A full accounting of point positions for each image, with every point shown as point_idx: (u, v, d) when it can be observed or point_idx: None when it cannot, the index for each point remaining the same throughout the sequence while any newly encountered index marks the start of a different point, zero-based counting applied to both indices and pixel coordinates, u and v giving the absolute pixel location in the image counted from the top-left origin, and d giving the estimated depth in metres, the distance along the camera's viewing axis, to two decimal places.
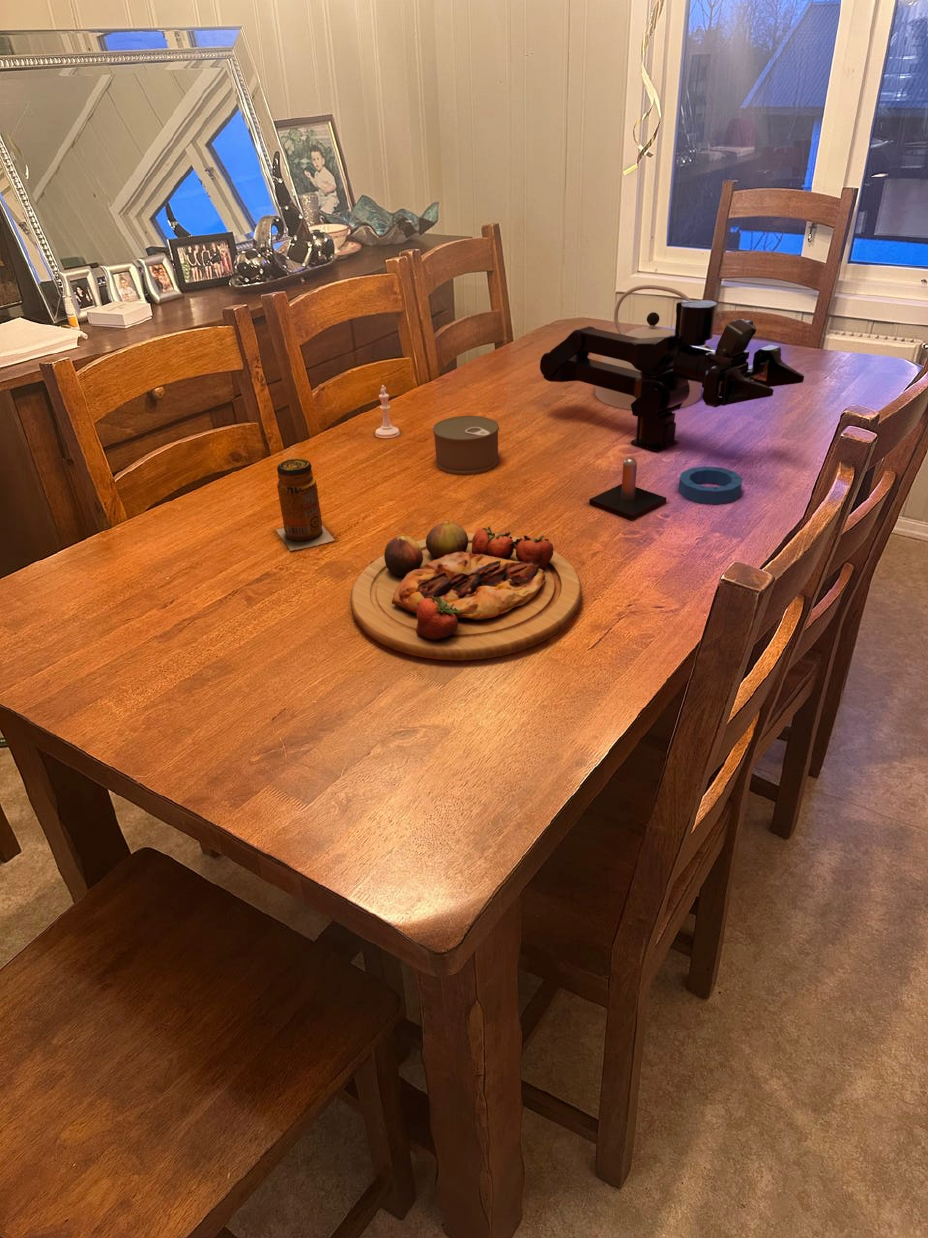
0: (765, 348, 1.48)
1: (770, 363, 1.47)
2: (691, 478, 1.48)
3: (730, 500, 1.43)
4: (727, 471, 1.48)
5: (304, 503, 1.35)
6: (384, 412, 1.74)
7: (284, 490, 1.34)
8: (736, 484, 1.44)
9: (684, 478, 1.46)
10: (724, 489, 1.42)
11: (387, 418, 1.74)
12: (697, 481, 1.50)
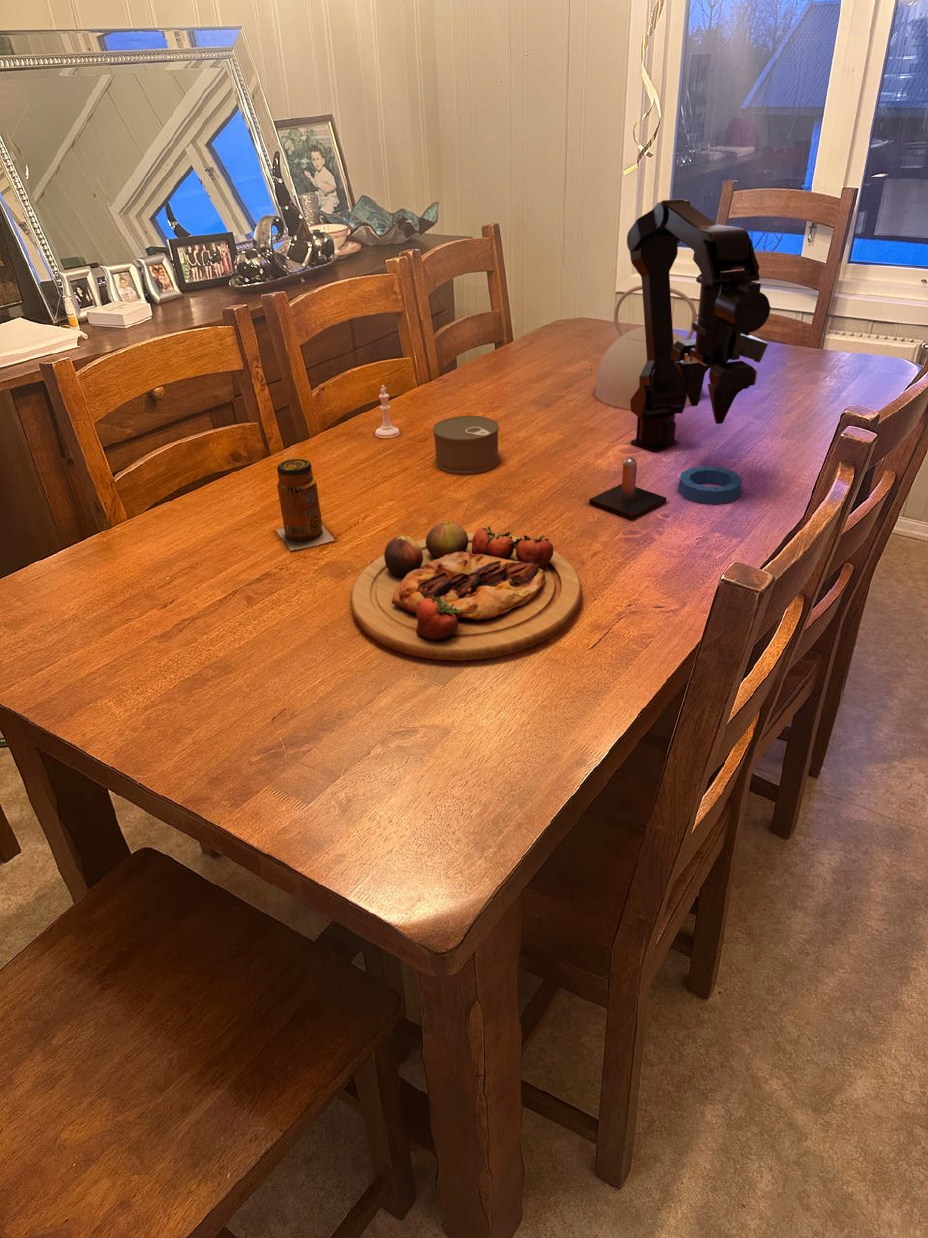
0: None
1: (703, 365, 1.45)
2: (691, 478, 1.48)
3: (730, 500, 1.43)
4: (727, 471, 1.48)
5: (304, 503, 1.35)
6: (384, 412, 1.74)
7: (284, 490, 1.34)
8: (736, 484, 1.44)
9: (684, 478, 1.46)
10: (724, 489, 1.42)
11: (387, 418, 1.74)
12: (697, 481, 1.50)
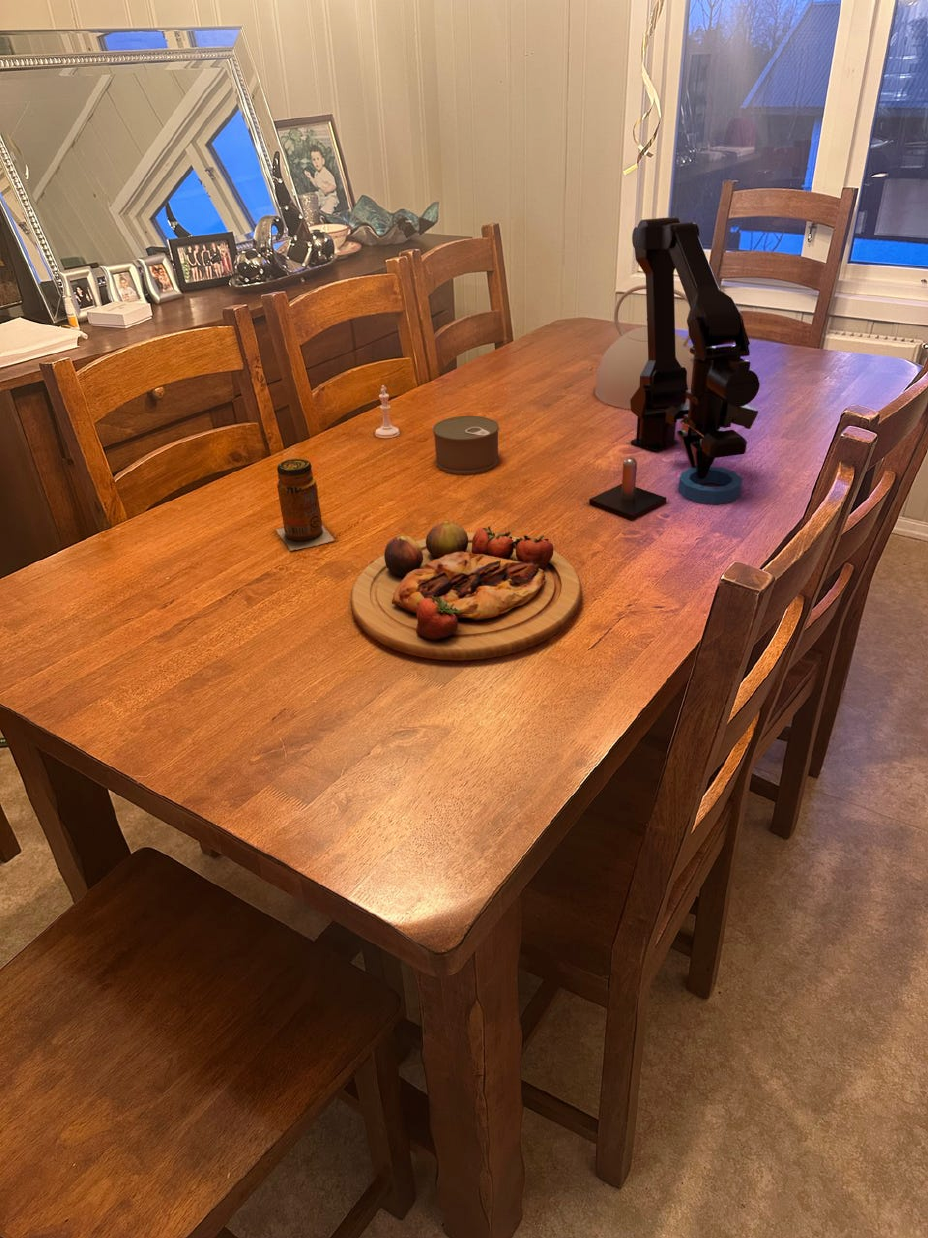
0: None
1: None
2: (691, 478, 1.48)
3: (730, 500, 1.43)
4: (726, 471, 1.48)
5: (304, 503, 1.35)
6: (384, 412, 1.74)
7: (284, 490, 1.34)
8: (736, 484, 1.44)
9: (684, 478, 1.46)
10: (724, 489, 1.42)
11: (387, 418, 1.74)
12: (697, 481, 1.50)
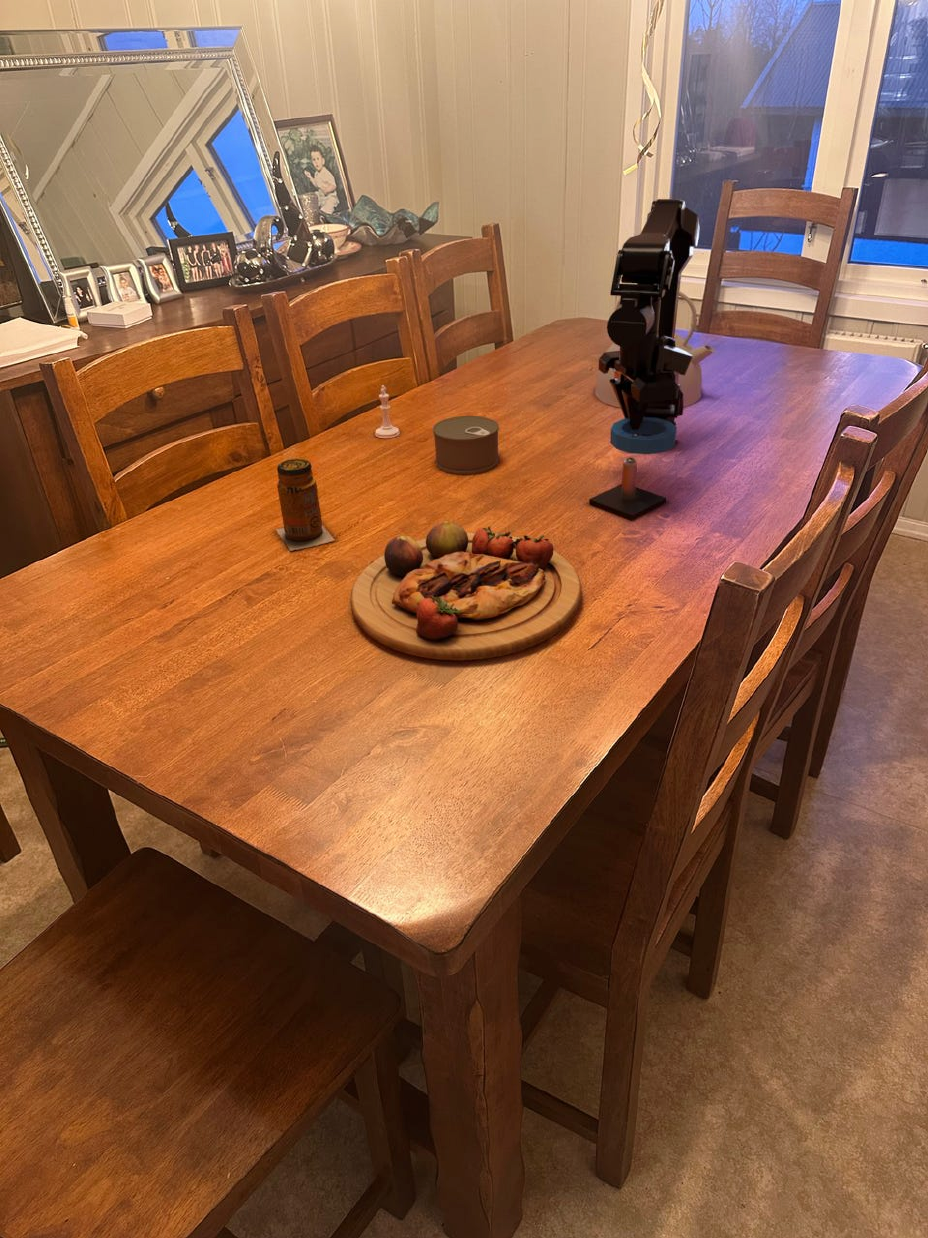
0: None
1: None
2: (624, 428, 1.40)
3: (663, 450, 1.35)
4: (661, 421, 1.40)
5: (304, 503, 1.35)
6: (384, 412, 1.74)
7: (284, 490, 1.34)
8: (670, 433, 1.36)
9: (616, 428, 1.38)
10: (656, 438, 1.34)
11: (387, 418, 1.74)
12: (631, 432, 1.42)
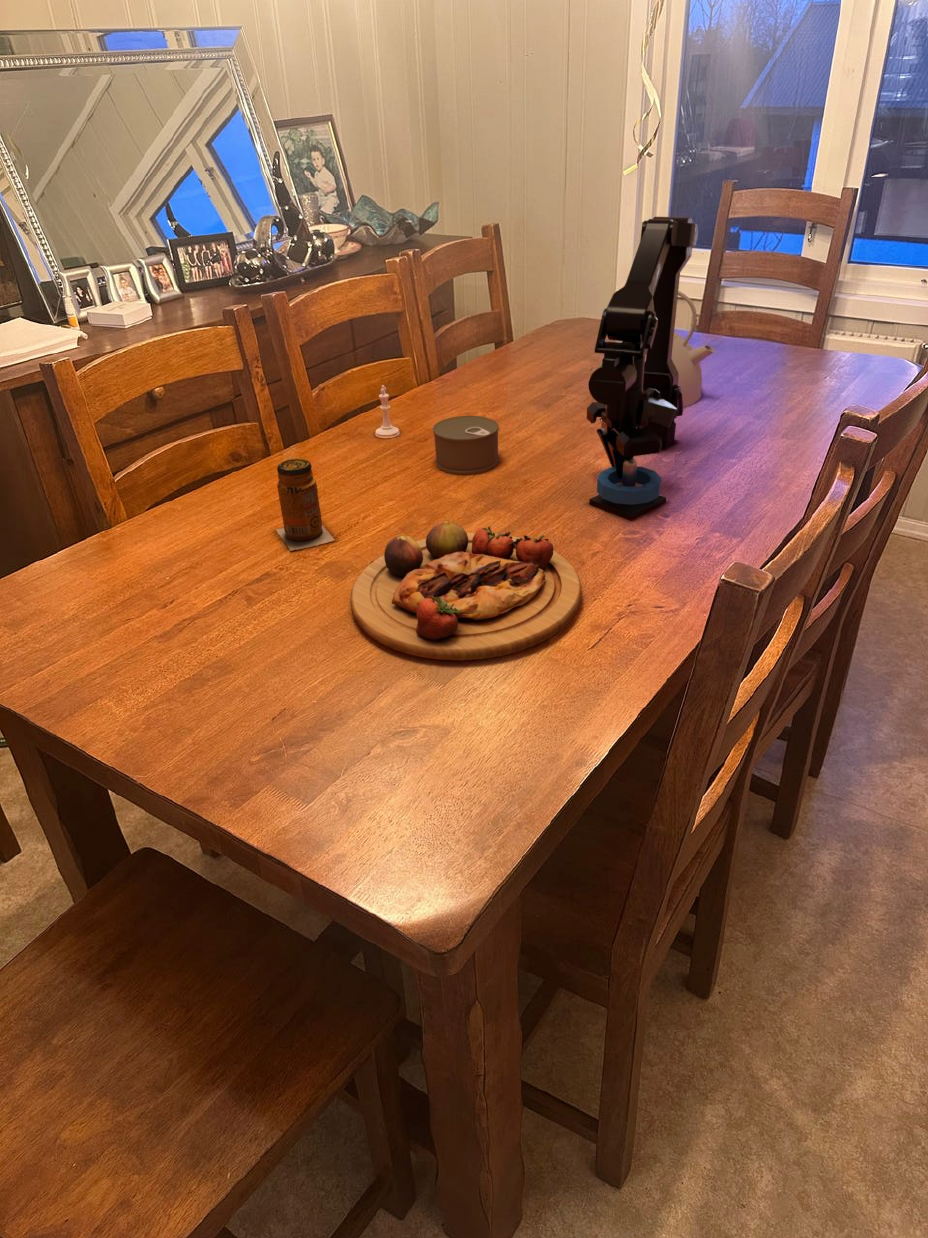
0: None
1: None
2: (610, 477, 1.45)
3: (647, 500, 1.39)
4: (647, 471, 1.44)
5: (304, 503, 1.35)
6: (384, 412, 1.74)
7: (284, 490, 1.34)
8: (654, 483, 1.40)
9: (602, 478, 1.42)
10: (640, 489, 1.38)
11: (387, 418, 1.74)
12: (617, 481, 1.46)
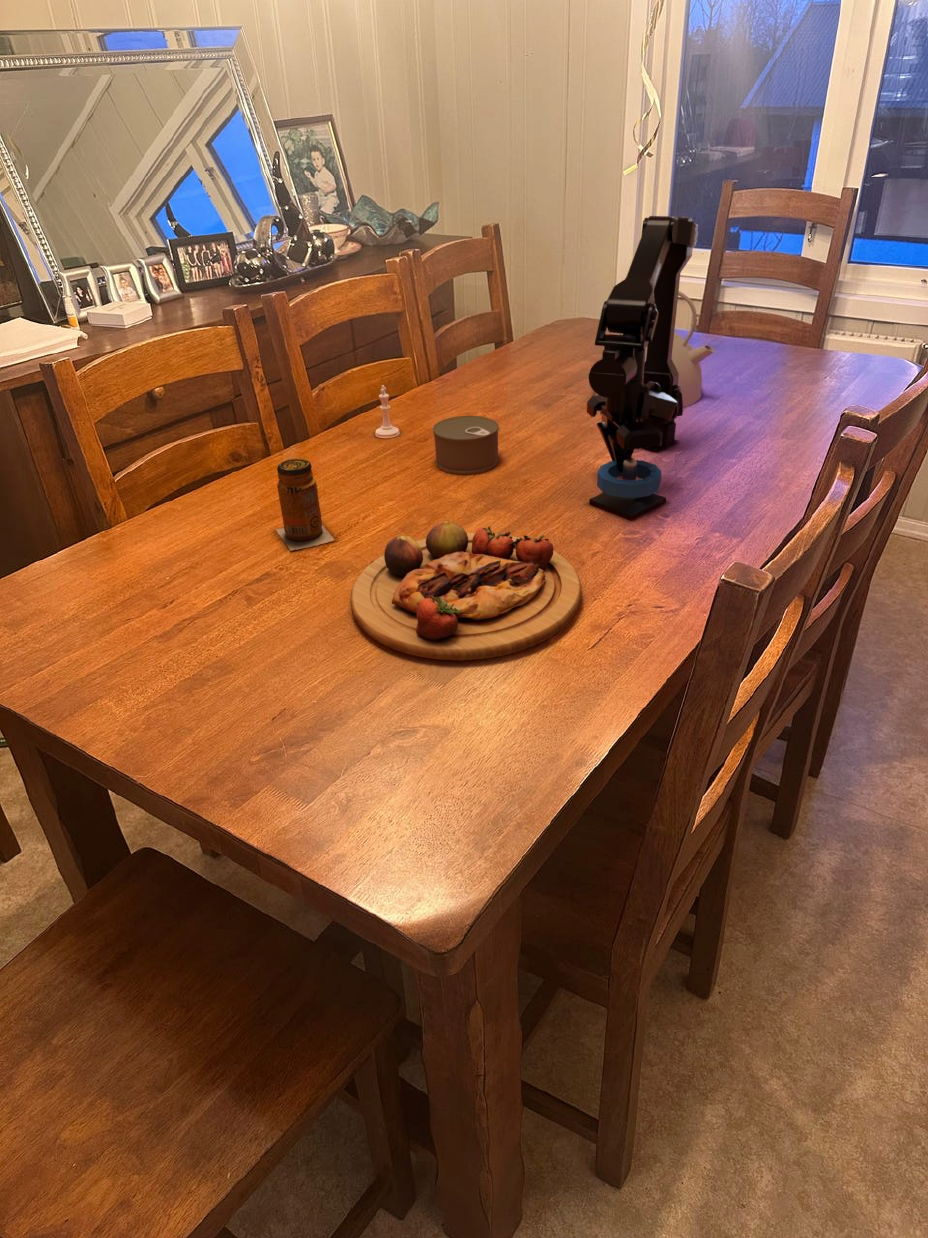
0: None
1: None
2: (611, 471, 1.44)
3: (648, 494, 1.39)
4: (647, 464, 1.44)
5: (304, 503, 1.35)
6: (384, 412, 1.74)
7: (284, 490, 1.34)
8: (654, 477, 1.39)
9: (602, 472, 1.42)
10: (641, 482, 1.38)
11: (387, 418, 1.74)
12: (617, 474, 1.45)
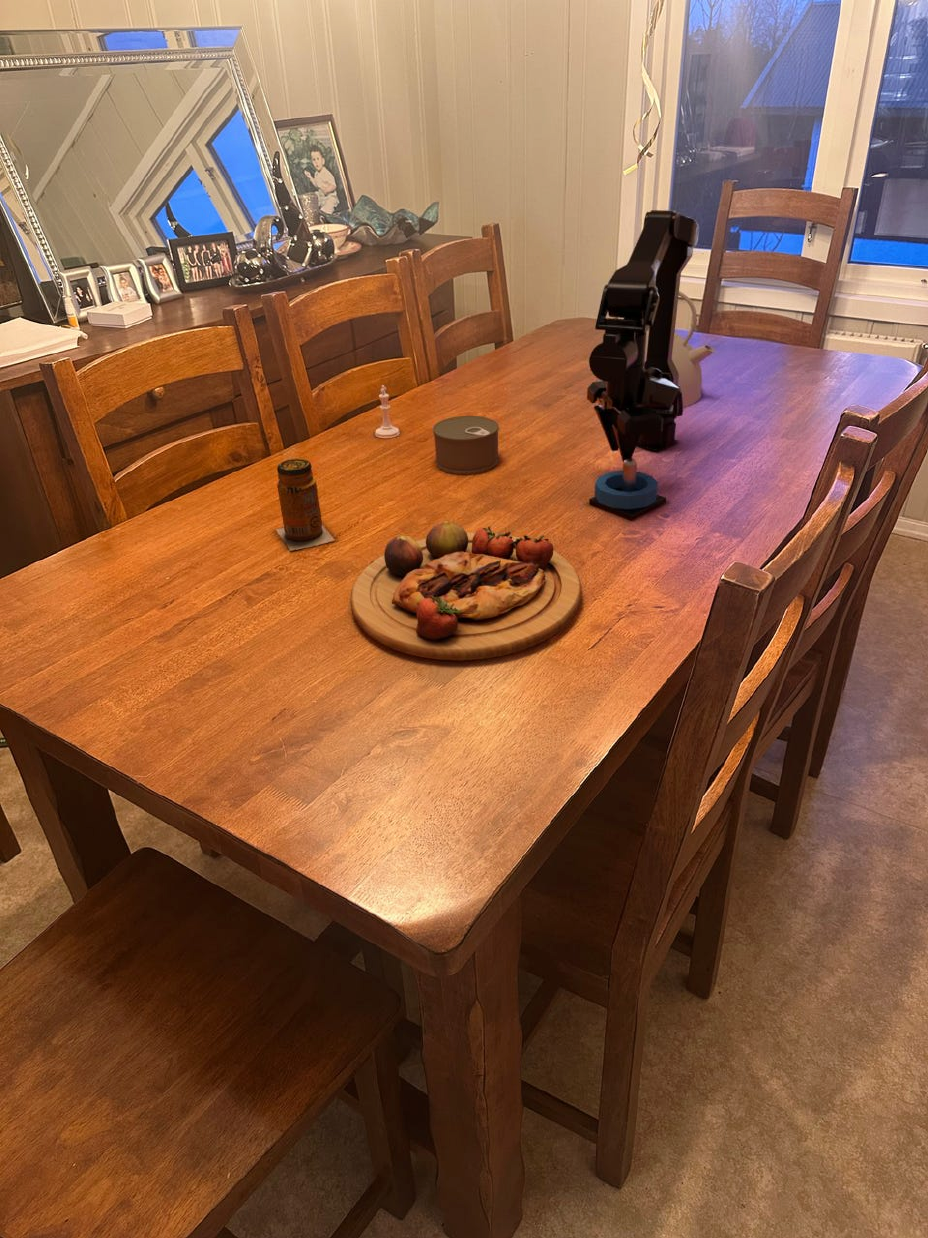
0: None
1: None
2: (608, 482, 1.46)
3: (645, 505, 1.41)
4: (644, 475, 1.46)
5: (304, 503, 1.35)
6: (384, 412, 1.74)
7: (284, 490, 1.34)
8: (651, 488, 1.41)
9: (600, 483, 1.44)
10: (638, 494, 1.40)
11: (387, 418, 1.74)
12: (615, 485, 1.47)
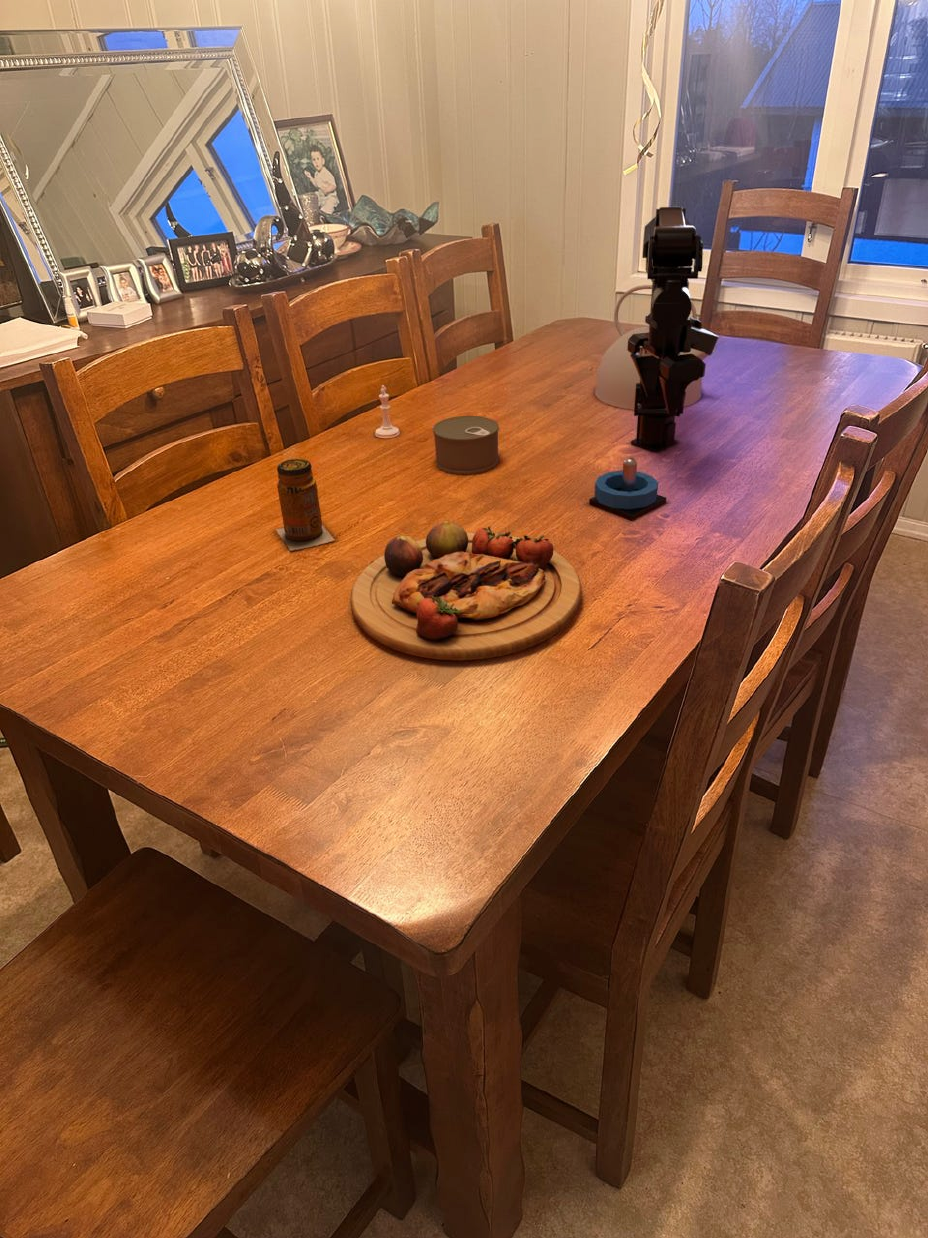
0: None
1: (658, 358, 1.50)
2: (608, 482, 1.46)
3: (645, 505, 1.41)
4: (644, 475, 1.46)
5: (304, 503, 1.35)
6: (384, 412, 1.74)
7: (284, 490, 1.34)
8: (651, 488, 1.41)
9: (600, 483, 1.44)
10: (638, 494, 1.40)
11: (387, 418, 1.74)
12: (615, 485, 1.47)
